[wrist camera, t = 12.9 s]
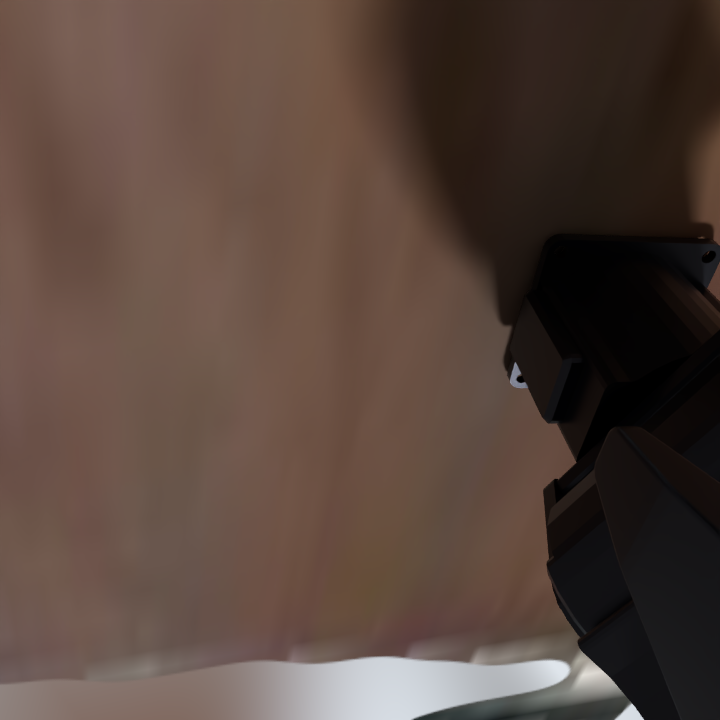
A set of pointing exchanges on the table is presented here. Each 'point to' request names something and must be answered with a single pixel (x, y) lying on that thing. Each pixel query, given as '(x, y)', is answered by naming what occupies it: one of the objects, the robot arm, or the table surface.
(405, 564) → the table surface
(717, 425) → the robot arm
